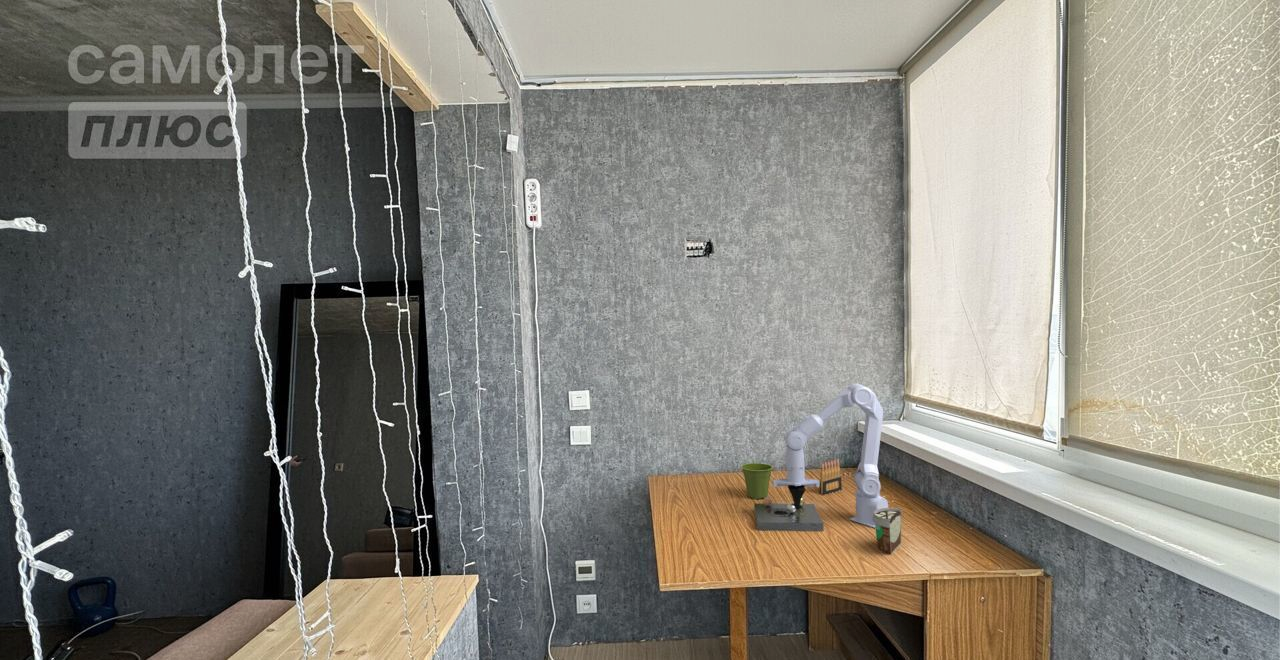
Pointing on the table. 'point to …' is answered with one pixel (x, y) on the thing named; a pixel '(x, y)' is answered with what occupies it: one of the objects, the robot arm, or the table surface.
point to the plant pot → (757, 479)
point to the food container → (888, 529)
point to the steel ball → (791, 508)
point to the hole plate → (787, 518)
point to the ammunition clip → (830, 477)
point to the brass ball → (802, 501)
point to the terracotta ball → (767, 501)
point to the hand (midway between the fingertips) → (796, 508)
